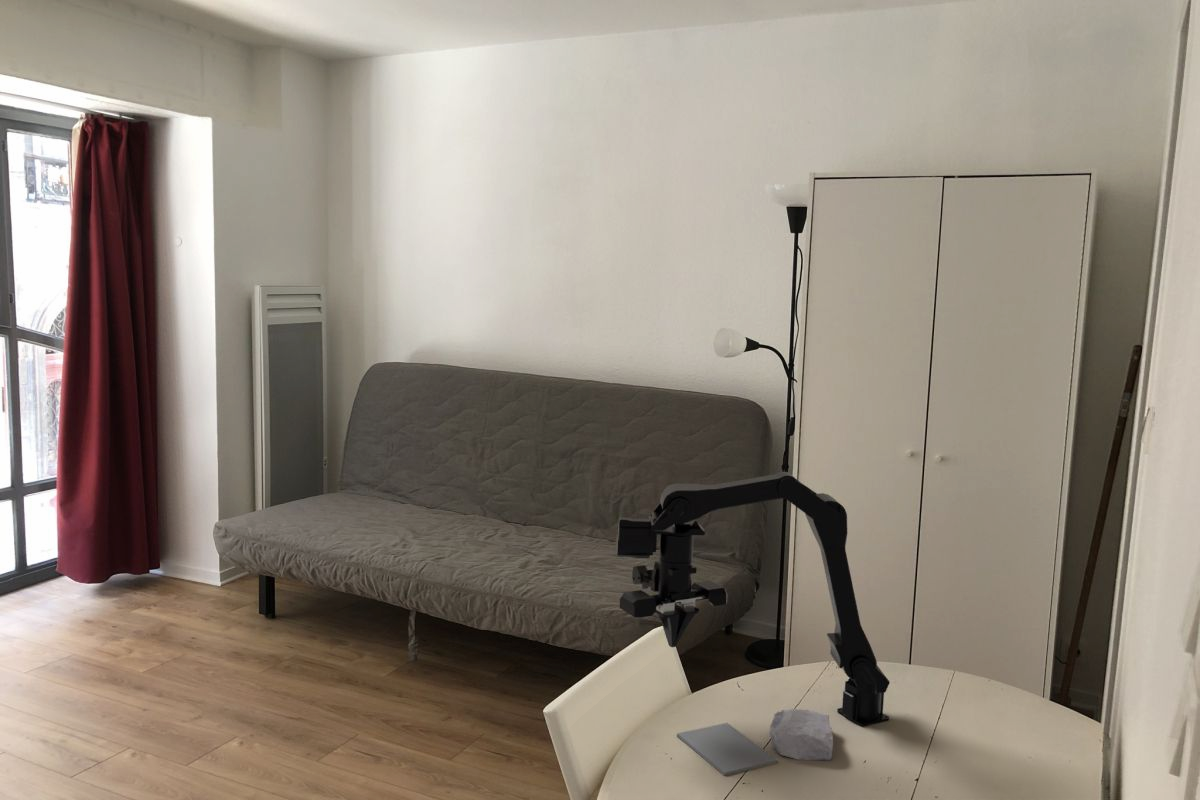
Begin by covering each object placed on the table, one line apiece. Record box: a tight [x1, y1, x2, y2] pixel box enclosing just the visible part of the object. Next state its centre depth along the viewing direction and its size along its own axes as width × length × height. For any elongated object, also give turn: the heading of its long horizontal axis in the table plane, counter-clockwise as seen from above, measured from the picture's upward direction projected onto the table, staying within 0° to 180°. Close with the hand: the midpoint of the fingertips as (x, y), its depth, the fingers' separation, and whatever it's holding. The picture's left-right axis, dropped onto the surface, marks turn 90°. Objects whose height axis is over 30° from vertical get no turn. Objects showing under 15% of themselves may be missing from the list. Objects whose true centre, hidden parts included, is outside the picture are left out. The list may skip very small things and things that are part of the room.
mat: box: [676, 722, 778, 777], centre depth 153 cm, size 10×14×1 cm
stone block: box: [769, 708, 834, 762], centre depth 156 cm, size 12×5×10 cm
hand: (672, 646), depth 164 cm, fingers closed
